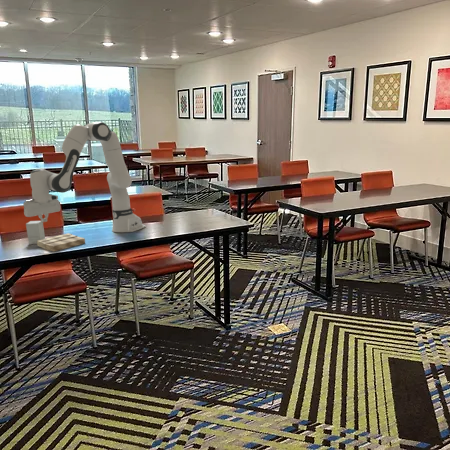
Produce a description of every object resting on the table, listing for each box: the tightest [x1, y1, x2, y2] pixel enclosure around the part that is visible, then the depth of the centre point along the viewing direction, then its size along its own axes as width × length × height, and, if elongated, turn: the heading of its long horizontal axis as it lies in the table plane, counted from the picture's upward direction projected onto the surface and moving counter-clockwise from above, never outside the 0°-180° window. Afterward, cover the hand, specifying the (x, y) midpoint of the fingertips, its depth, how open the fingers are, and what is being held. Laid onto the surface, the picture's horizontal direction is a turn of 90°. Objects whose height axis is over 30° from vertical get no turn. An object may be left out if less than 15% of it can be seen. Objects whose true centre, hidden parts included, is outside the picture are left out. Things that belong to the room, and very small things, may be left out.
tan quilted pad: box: [36, 232, 76, 250], centre depth 246 cm, size 20×9×3 cm, turn 142°
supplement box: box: [25, 220, 46, 245], centre depth 249 cm, size 7×7×13 cm
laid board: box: [45, 235, 86, 252], centre depth 240 cm, size 20×8×3 cm, turn 142°
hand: (44, 221), depth 239 cm, fingers closed
